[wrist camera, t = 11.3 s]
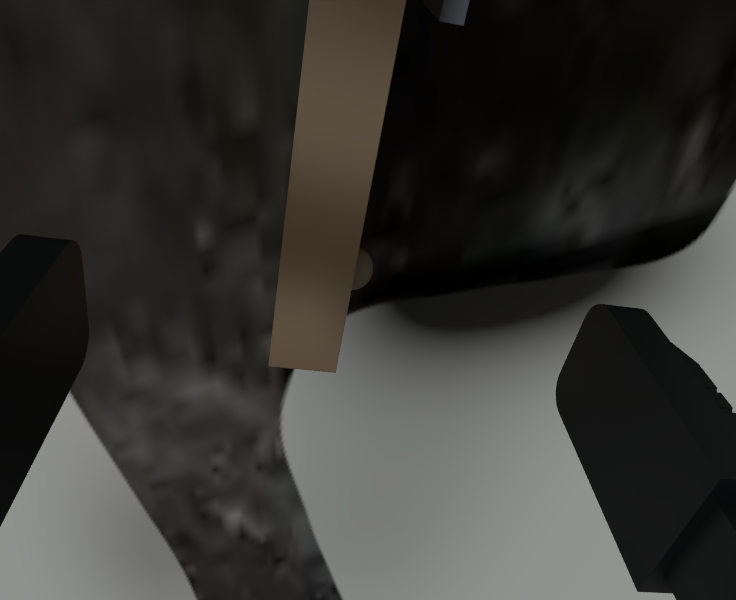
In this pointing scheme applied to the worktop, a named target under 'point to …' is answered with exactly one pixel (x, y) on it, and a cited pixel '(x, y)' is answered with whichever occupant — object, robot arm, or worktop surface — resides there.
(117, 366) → the worktop surface
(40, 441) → the robot arm
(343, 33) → the walnut door
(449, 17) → the slate cabinet
